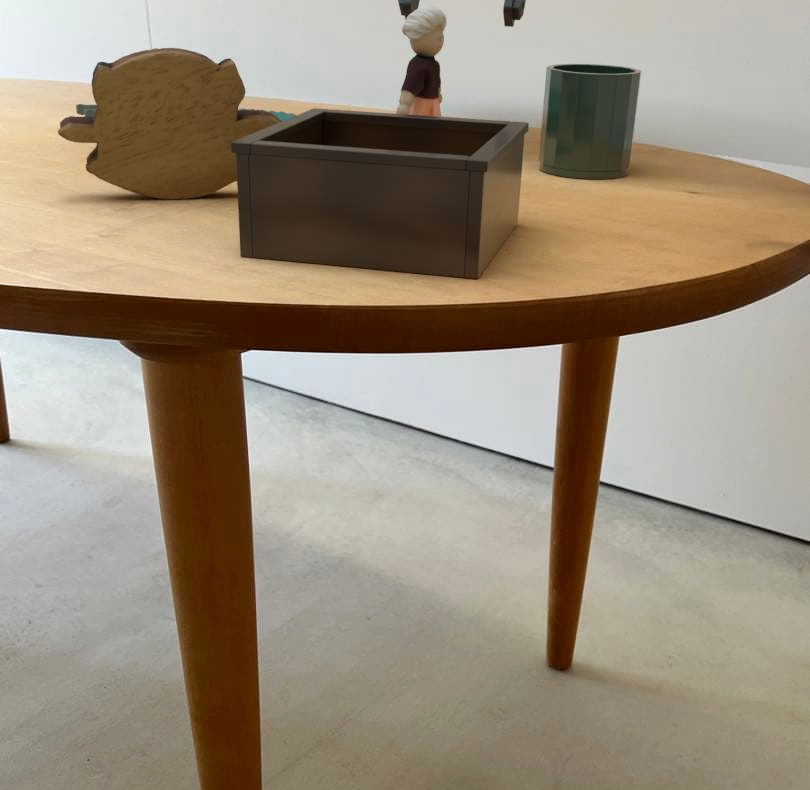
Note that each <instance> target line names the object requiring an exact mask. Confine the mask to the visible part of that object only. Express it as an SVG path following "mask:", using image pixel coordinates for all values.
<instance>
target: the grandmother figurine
mask: <svg viewBox="0 0 810 790" xmlns="http://www.w3.org/2000/svg"><path fill="white" fill-rule="evenodd" d="M446 27H447V17H446V13H444V11H442V10H441V9H440V8H439V7H437V6H434V5H432V4H423V5H421V6H420V7H418V9H417V10H415V11H414V12H412V13H411V14H410V15H408V16H407V18H406V20H405V21H404V24H403V25H402V26H401V32H402V34H403V35H404V36H406V37H407V38H408V39H409V45H410V48H411V49H412V51H413V53H415V55H414V56H413V57H412V58H411V59H410V60H409V62H408V64H407V67H406V73H405V78H404V81H403V83H402V86H401V88H400V96H399V100H398V102H399V105H398V107H397V108H396V114H407V115H422V116H437V117H442V111H441V103H443V94H442V93H441V92H442V79H441V65H440V62H439V61H438V60H436V58H435V56H437V55H438V54H439V53H440V51H442V49H443V46H444V44H445V43H444V42H445V36H444V31H445V29H446Z"/></svg>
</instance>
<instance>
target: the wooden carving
mask: <svg viewBox="0 0 810 790" xmlns="http://www.w3.org/2000/svg"><path fill="white" fill-rule="evenodd" d="M91 92H92V96H93V100H94V102H95V105H97V108H96V111H95V114H94V117H85V116H74V115H70V116H67V117H65V118H63V119H62V120H61V121H60V122H59V127H60V128H59V129H58V130H57V134H58V135H59V136H60V137H61V138H63V139H65V141H69V142H72V143H78V144H79V143H80V144H96V146H95V147H94V148H93V150H92V151H91V152H90V153H89V154H88V155H87V156H86V163H85V170H86V171H87V172H88V173H89V174H91V175H93V176H95V177H96V178H97V179H99V180H101V181H104V182H106V183H108V184H110V185H112V186H115V187H118V188H120V189H123V190H124V191H128V192H130V193H131V192H132V193H134V194H137V195H141V196H143V197H147V198H155V199H159V200H160V199H161V200H188V199H195V198H201V197H204V196H207V195H209V194H213V193H216V192H218V191H220V190H222V189H224V188H226V187H228V186H229V185H231V184H233V183H235V182H237V166H236V153H232V152H231V142H233V141H236V140H238V139H240V138H243V137H245V136H248V135H250V134H253V133H255V132H257V131H260V130H262V129H265V128H267V127H270V126H272V125H274V124H277V123H279V122H282V121H281V120H280V119H279V118H278V117H277V116H275V115H274V114H272V113H270V112H266V111H267V110H265V111H262V110H263V109H254V110H250V109H248V108H247V109H246V108H245V109H246V110H240V111H238V109H239V107H240V104H241V103H242V101H243V100H244V98H245V95H246V92H247V91H246V87H245V84H244V82H243V79H242V78H241V75H240V73H239V70H238V67H237V65H236V63H235V61H233V59H232V58H224V59H222V60H220V62H218V63H216V62H215V61H214V60H212V59H211V58H209V56H206V55H204V54H202V53H199V52H196V51H193V50H189V49H184V48H179V47H161V48H152V49H145V50H140V51H135V52H133V53H130V54H127V55H123V56H121V57H120V58H118V59H117V60H115V61H113V62H106V61H99V62H97V63H96V65H95V67H94V70H93V72H92V78H91Z"/></svg>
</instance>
